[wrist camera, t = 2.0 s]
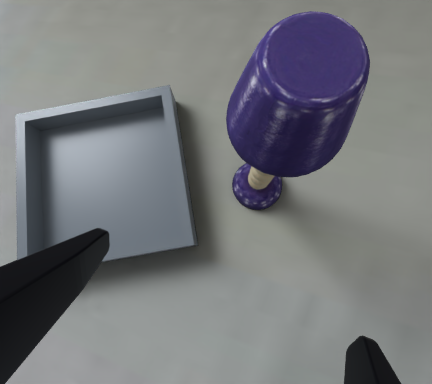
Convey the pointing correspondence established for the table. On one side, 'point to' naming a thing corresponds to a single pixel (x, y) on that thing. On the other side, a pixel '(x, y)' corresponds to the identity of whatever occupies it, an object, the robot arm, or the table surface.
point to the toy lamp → (295, 102)
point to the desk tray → (104, 175)
